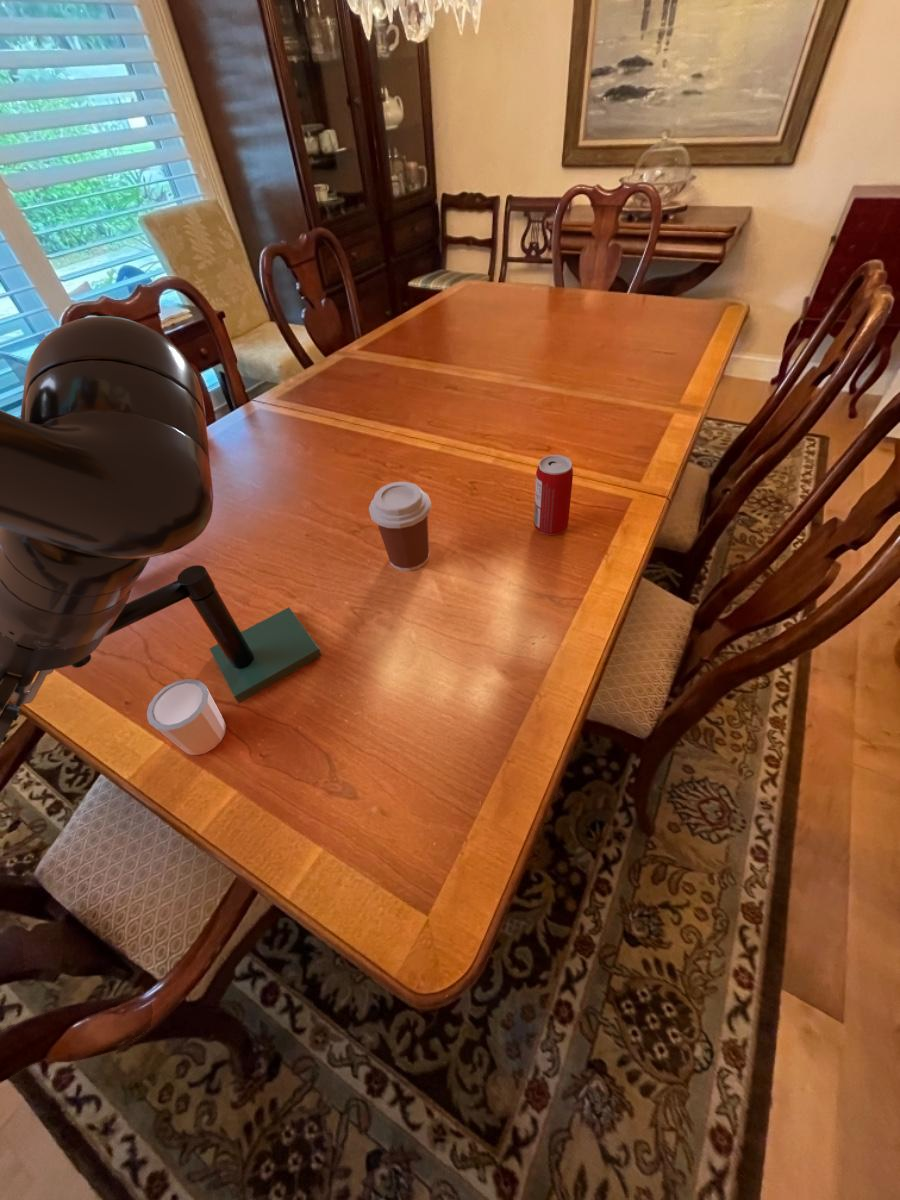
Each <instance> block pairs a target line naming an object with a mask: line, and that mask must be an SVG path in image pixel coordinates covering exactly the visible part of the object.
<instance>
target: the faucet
mask: <svg viewBox="0 0 900 1200" xmlns="http://www.w3.org/2000/svg"><path fill="white" fill-rule="evenodd" d="M189 600H190V602H191V604H192V605H193V607H194V608H195V609H196V611H197V612H198V614H199V616H200V618H201V619H202V621H203V623H204V624H205V625H206V627H207V629H208V630H209V631H210V633H211V635H212V637H213V638H214V640H215V641H216V643H217V644H215V645H213V646H211V647H209V649H208V650H209V651H210V653H211V655H212V657H213V659H214V660H215V663H216V665H217V666H218V669H219V670H220V673H221V674H222V676H223V678H224V680H225V682H226V684H227V685H228V687H229V689H230V692H231V693H232V695H233V697H234V699H235V700H236V702H237V703H238V704H239V703H241V702H243V701H244V700H246V699H248V698H250V697H252V696H253V695H256V694H257V693H259V692H260V691H262V690H264V689H265V688H267V687H270V686H272V684H274V683H276V682H278V681H280V680H282V679H283V678H285V677H287V676H288V675H289V676H290V674H292V673H294V672H296V671H297V670H300V669H301V668H303V667H305V666H306V665H308V664H309V663H312V662H313V661H315V660H318V659H319V658H320V657H323V655H322V652H321V649H320V647H319V646H318V645H317V644H316V642H315V640H314V639H313V638H312V637H311V635H310V634H309V633H308V631H307V630H306V628H305V627H304V626H303V624H302V623H301V622H300V620H299V619H298V618H297V617H298V616H296V615H295V613H294V611H293V610H292V608H291V607H290V606H288V607H286V608H285V609H282V610H280V611H279V612H277V613H274V614H272V615H270V616H268V617H267V618H265V619H263V620H262V621H259V622H257V623H256V624H253V625H252V626H250V627H248V628H246V629H243V630H242V631H241V630H240V628H239V626H238V625H237V623H236V621H235V620H234V618H233V616H232V613H231V612H230V610H229V609H228V607H227V605H226V604H225V602H224V600H223V598H222V597H221V595H220V593H219V591H218V589H217V588H216V586H215V587H214V590H213V591H212V592H211V593H210V594H209V595H208V596H206V597H204V598H202V599H197V600H194V599H190V598H189Z"/></svg>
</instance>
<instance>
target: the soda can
mask: <svg viewBox="0 0 900 1200" xmlns="http://www.w3.org/2000/svg"><path fill="white" fill-rule="evenodd" d="M573 478H574V469H573V462H572V460H571V459H570V458H569V457H567V456H565V455H561V454H550V455H546V456H544V457H542V458H541V459H540V460H539V461H538V465H537V468H536V472H535V492H534V511H533V512H534V515H533V525H534V528H535V529H536V530H537V531H538V532H539V533H541V534H543V535H546V536H556V535H557V536H558V535H560V534H562V533H563V532H565V531H566V530H567V529H568V527H569V520H570V519H569V518H570V511H571V510H570V508H571V500H572V488H573V481H574V480H573Z"/></svg>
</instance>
